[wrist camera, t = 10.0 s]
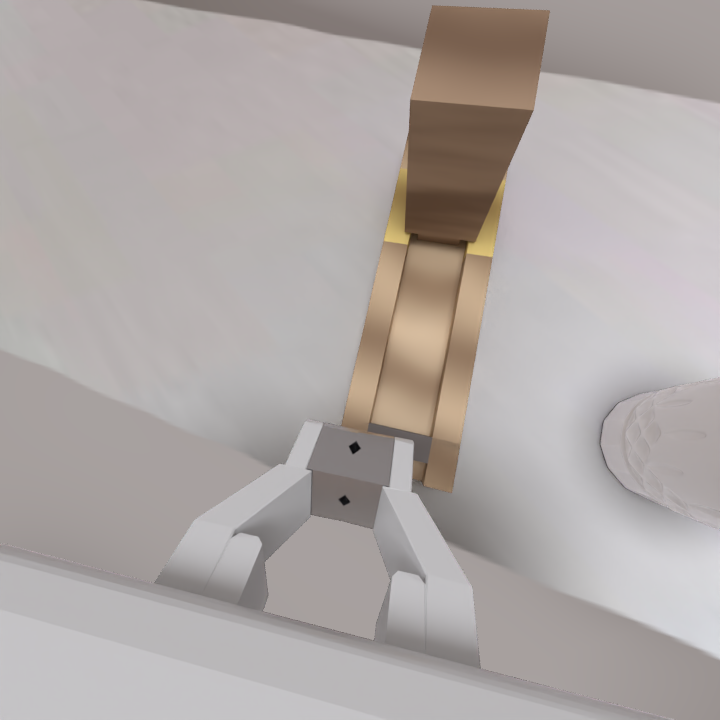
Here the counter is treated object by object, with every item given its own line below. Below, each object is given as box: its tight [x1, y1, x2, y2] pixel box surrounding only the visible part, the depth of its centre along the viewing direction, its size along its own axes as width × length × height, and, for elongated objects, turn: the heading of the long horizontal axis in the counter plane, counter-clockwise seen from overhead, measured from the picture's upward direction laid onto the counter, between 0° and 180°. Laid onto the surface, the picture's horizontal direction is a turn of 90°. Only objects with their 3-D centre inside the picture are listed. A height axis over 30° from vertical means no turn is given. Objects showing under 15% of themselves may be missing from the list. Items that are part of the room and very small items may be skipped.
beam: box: [341, 133, 508, 493], centre depth 23 cm, size 24×7×4 cm, turn 167°
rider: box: [405, 6, 550, 246], centre depth 18 cm, size 4×4×10 cm
